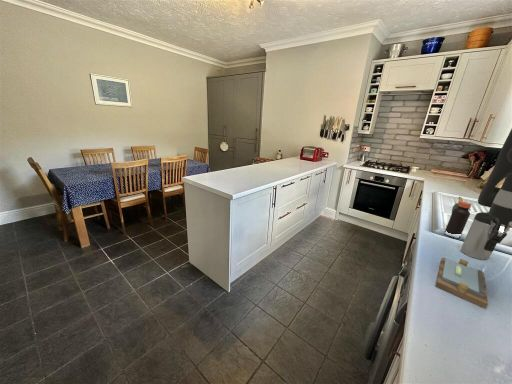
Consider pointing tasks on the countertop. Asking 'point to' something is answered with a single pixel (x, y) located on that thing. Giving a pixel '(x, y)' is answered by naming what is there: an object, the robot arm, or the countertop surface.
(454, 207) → the vegetable
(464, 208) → the bottle
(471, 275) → the level plate
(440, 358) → the countertop surface
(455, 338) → the countertop surface
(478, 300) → the base
